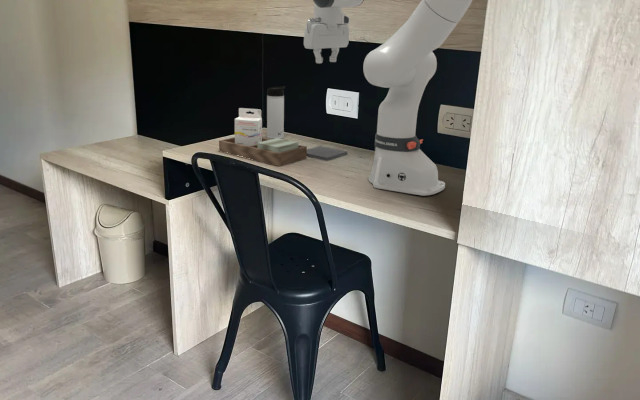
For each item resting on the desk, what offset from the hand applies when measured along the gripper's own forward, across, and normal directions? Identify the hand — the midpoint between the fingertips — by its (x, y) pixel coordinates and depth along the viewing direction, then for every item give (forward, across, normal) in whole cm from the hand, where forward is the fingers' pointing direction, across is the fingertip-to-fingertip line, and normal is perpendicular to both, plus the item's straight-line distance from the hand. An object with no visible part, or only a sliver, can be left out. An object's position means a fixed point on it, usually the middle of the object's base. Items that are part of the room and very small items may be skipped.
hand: (326, 62), depth 182 cm
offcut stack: (+31, -16, +7) cm, 36 cm away
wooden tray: (+31, -15, +14) cm, 37 cm away
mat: (+31, 0, 0) cm, 31 cm away
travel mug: (+31, +6, +27) cm, 41 cm away
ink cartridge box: (+31, -15, +21) cm, 40 cm away
